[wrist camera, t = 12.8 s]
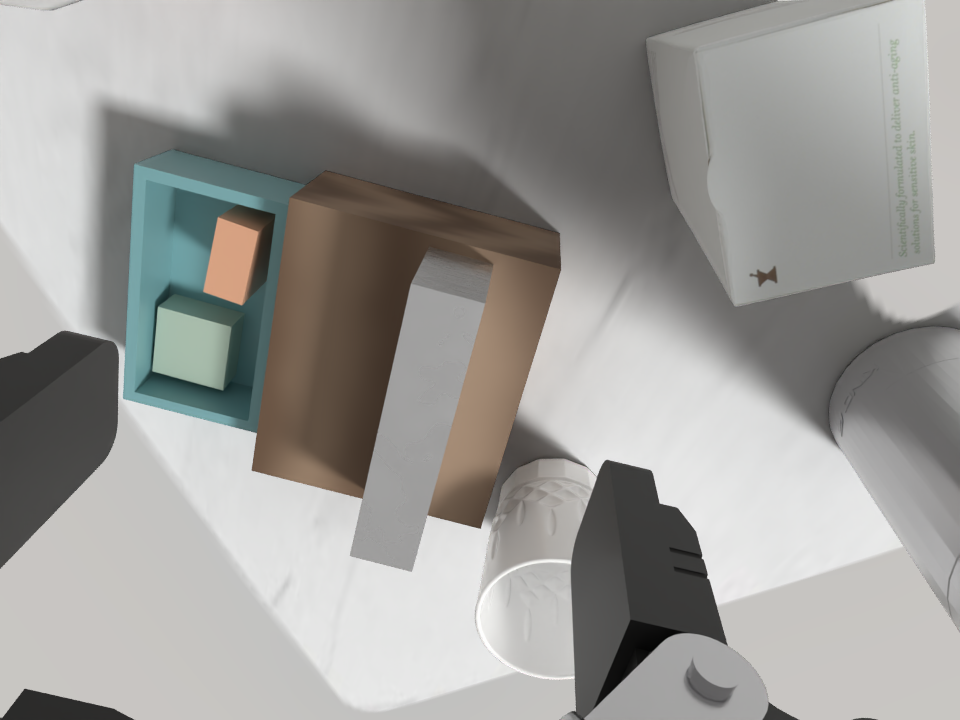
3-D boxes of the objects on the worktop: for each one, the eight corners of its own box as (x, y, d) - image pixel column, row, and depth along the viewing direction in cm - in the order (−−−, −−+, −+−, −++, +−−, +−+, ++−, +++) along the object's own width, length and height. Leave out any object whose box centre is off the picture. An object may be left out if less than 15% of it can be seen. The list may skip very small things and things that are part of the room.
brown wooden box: (559, 233, 40) (560, 269, 34) (488, 466, 46) (480, 528, 41) (325, 170, 39) (289, 197, 34) (287, 415, 46) (251, 470, 40)
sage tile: (158, 306, 41) (174, 293, 42) (152, 371, 42) (168, 356, 44) (231, 327, 41) (244, 313, 43) (222, 390, 42) (236, 374, 44)
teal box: (313, 186, 40) (289, 205, 36) (281, 398, 45) (257, 433, 42) (172, 149, 39) (133, 164, 36) (157, 366, 45) (123, 398, 41)
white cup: (473, 463, 46) (454, 575, 37) (601, 435, 45) (615, 545, 36) (509, 563, 49) (500, 690, 40) (630, 541, 48) (649, 667, 39)
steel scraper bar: (493, 264, 34) (485, 303, 30) (427, 508, 40) (411, 571, 36) (429, 246, 34) (411, 283, 30) (372, 493, 40) (349, 556, 36)
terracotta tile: (258, 231, 36) (217, 217, 36) (241, 305, 38) (203, 291, 38) (284, 211, 40) (247, 197, 40) (268, 279, 42) (233, 266, 41)
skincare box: (798, 174, 37) (946, 277, 23) (662, 205, 39) (726, 321, 25) (781, -9, 34) (942, -18, 20) (633, 31, 35) (689, 50, 21)
